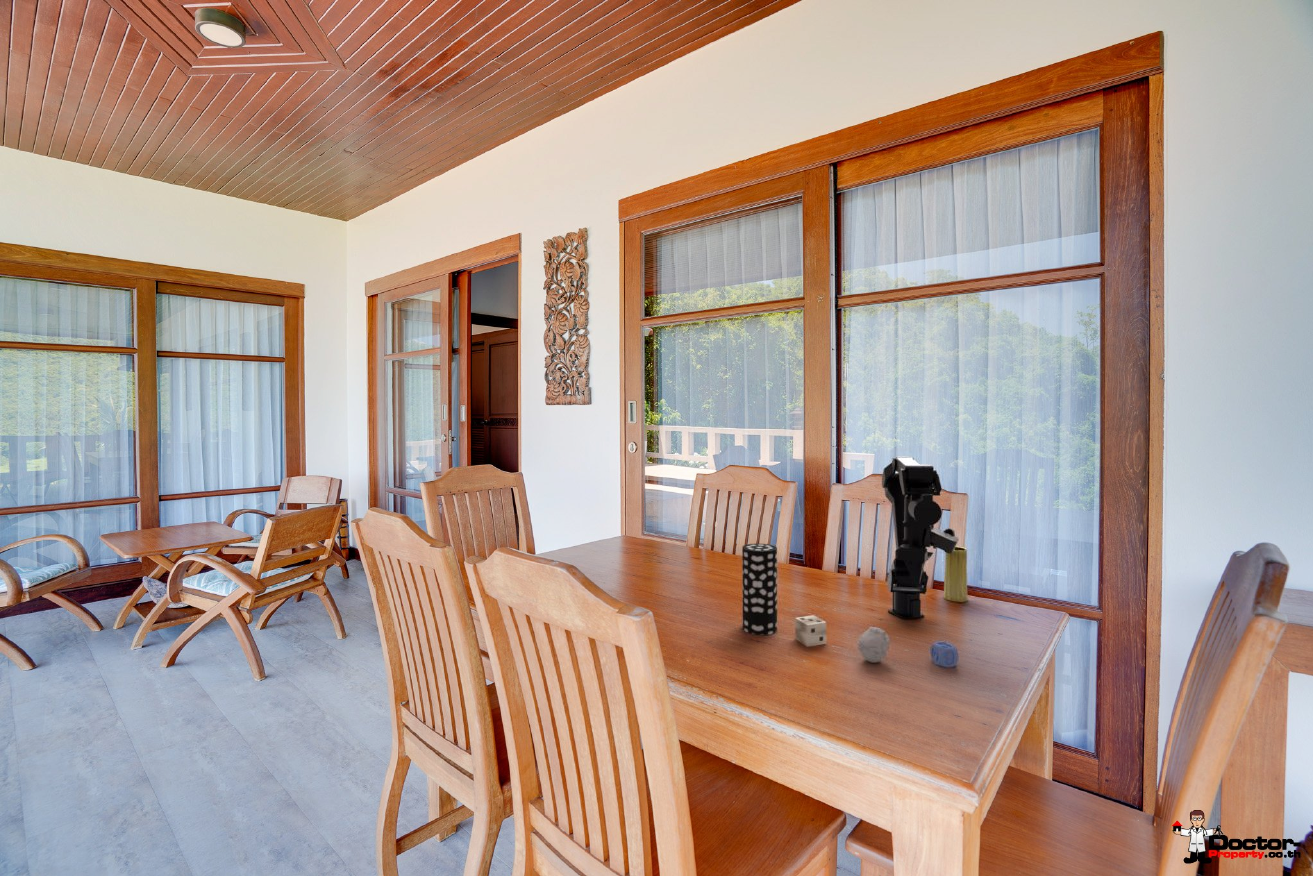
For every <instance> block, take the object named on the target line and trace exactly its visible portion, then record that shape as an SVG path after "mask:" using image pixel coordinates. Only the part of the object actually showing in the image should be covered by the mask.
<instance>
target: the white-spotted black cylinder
mask: <svg viewBox="0 0 1313 876" xmlns="http://www.w3.org/2000/svg"><path fill="white" fill-rule="evenodd" d="M741 549H742V550H741V551H742V553H741V554H742V555H741V558H742V559H741V560H742V564H741V565H742V568H741V570H742V572H741V573H742V575H741V576H742V577H741V578H742V582H741V583H742V588H741V589H742V630H743V631H744V632H745V633H749V634H751V635H758V636H764V635H765V636H767V635H772V634H774V633H776V632H777V631H778V547H777V546H776V545H772V544H769V543H748V544H744V545H742V546H741Z"/></svg>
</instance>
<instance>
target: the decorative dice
mask: <svg viewBox="0 0 1313 876" xmlns="http://www.w3.org/2000/svg"><path fill="white" fill-rule="evenodd" d="M929 651H930V657H931V660H932V662H933V663H934V664H935V665H936V666H939V667H943V668H953V667H956V666H957V664H958V662H959V661H960V660H959V659H960V658H959V657H960V656H959V652H958V649H957V647H956V646H955V645H954V644H953V643H951V642H947V641H943V640H940V641H935V642H934V643H932V644H931V647H930V649H929Z"/></svg>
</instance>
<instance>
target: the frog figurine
mask: <svg viewBox="0 0 1313 876" xmlns="http://www.w3.org/2000/svg"><path fill="white" fill-rule="evenodd" d="M890 640H891V639H890V637H889V636H888V633H886V631H885V630H884V629H882V628H880V627H876V626H869V627H868V629H866V630H865V632H863V633H862V634H861V635H860V638H859V640H858V642H857V646H858V650H859V652H860V654H861V656H862V657H863V658H864V660H865V661H867V662H869V663H873V664H875V663H879V662H881V661H883V660H884V658H885V657H886V655H887V652H888V651H889V648H890V647H889V646H890Z"/></svg>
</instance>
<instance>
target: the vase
mask: <svg viewBox="0 0 1313 876" xmlns="http://www.w3.org/2000/svg"><path fill="white" fill-rule="evenodd" d="M967 553H968V549H967V548H966V547H963V546H957V545H956V547H955V549H954V551H953V552H952V554H949V553H946V552H945V559H944V560H945V562H944V563H945V564H944V581H943V582H944V583H943V596H942V597H943V598H944V599H945V600H947V601H950V602H954V603H964V602H965V603H966V602H967V601H968V600H969V599H968V598H969V597H968V573H967V572H968V571H967V570H968V569H967V567H968V566H967V565H968V556H967V555H968V554H967Z"/></svg>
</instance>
